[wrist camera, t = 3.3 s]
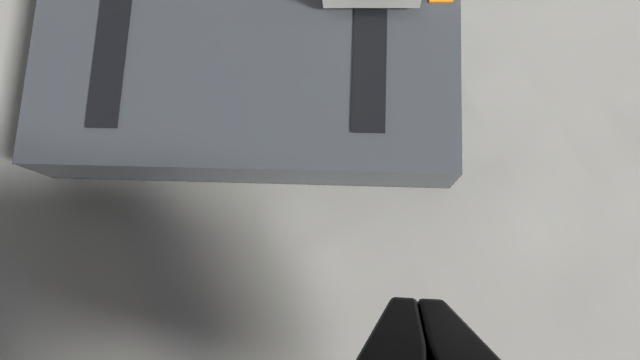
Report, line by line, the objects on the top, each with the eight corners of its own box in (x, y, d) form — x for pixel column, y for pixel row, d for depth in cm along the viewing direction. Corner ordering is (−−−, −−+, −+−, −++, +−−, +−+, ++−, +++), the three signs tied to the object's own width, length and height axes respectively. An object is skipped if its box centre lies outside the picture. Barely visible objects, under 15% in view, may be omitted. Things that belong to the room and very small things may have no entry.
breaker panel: (449, 188, 20) (462, 173, 17) (52, 177, 21) (10, 162, 18) (447, -126, 22) (459, -180, 20) (93, -120, 23) (60, -169, 21)
